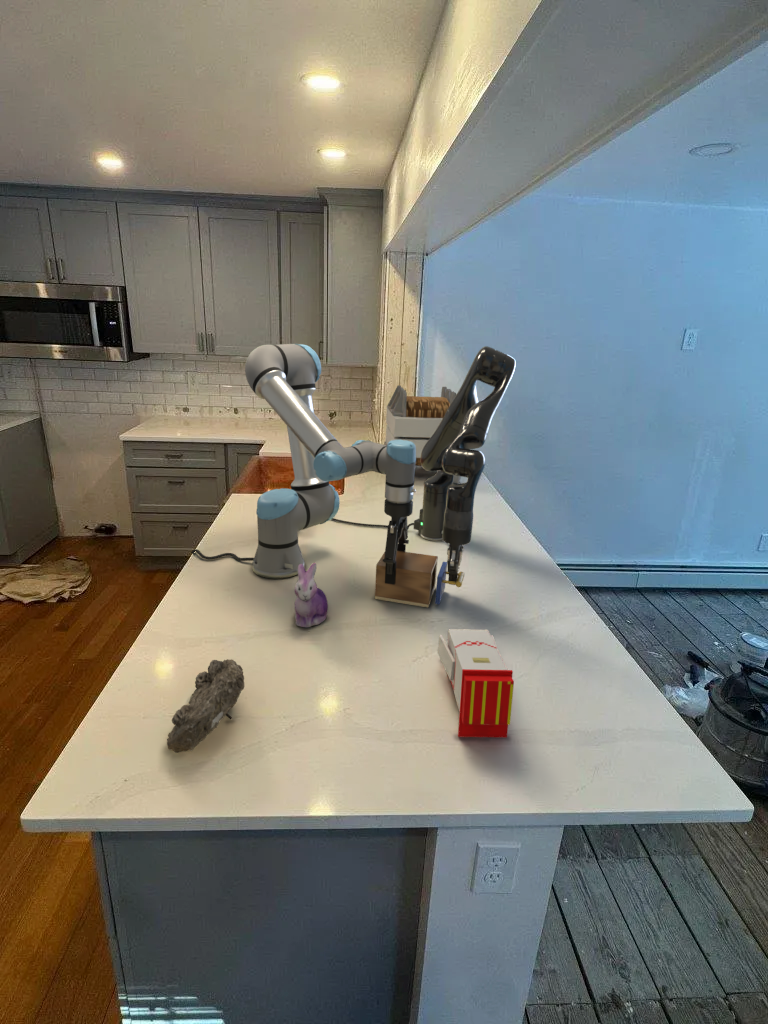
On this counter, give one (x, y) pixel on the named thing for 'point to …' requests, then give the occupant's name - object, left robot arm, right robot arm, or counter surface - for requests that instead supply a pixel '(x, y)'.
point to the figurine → (309, 599)
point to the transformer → (416, 418)
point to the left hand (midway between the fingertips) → (394, 574)
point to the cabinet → (407, 579)
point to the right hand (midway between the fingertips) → (452, 583)
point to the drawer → (443, 581)
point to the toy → (478, 682)
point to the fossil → (206, 705)
